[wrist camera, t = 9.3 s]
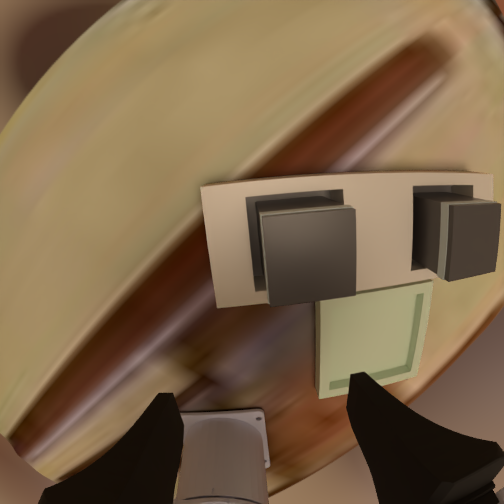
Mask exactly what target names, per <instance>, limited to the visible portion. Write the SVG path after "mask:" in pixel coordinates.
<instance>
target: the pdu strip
mask: <svg viewBox="0 0 504 504" xmlns="http://www.w3.org/2000/svg"><path fill="white" fill-rule="evenodd" d="M200 189H201V198H202V206H203V214H204V221H205V229H206V236H207V244H208V251H209V258H210V265H211V271H212V278H213V285H214V291H215V298H216V304H217V308H225V307H235V306H245V305H254V304H264V303H268V300H267V290H266V285H265V281H264V276H263V272H262V267H261V257H260V247H259V236H258V226H257V216H256V206H255V202H256V201H266V200H277V199H288V198H299V197H312V196H324V197H326V198H329V199H331V200H334V201H337V202H339V203H342V204H344V205H350V206H353V208H354V209H356V244H357V266H356V291H362V290H368V289H375V288H381V287H387V286H393V285H399V284H405V283H411V282H416V281H422V280H427V279H433V278H438V276H437V274H435V273H434V272H432V271H431V270H429V269H427V268H426V267H424V266H423V265H421V264H419V263H418V262H416V261H414V260H413V259H412V239H413V193H420V192H451V193H456V194H460V195H465V196H470V197H474V198H479V199H483V200H492V201H493V174H488V173H480V172H471V171H445V170H390V171H355V172H334V173H316V174H301V175H288V176H276V177H265V178H254V179H244V180H235V181H226V182H217V183H209V184H205V185H203V186H202V187H200Z"/></svg>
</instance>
